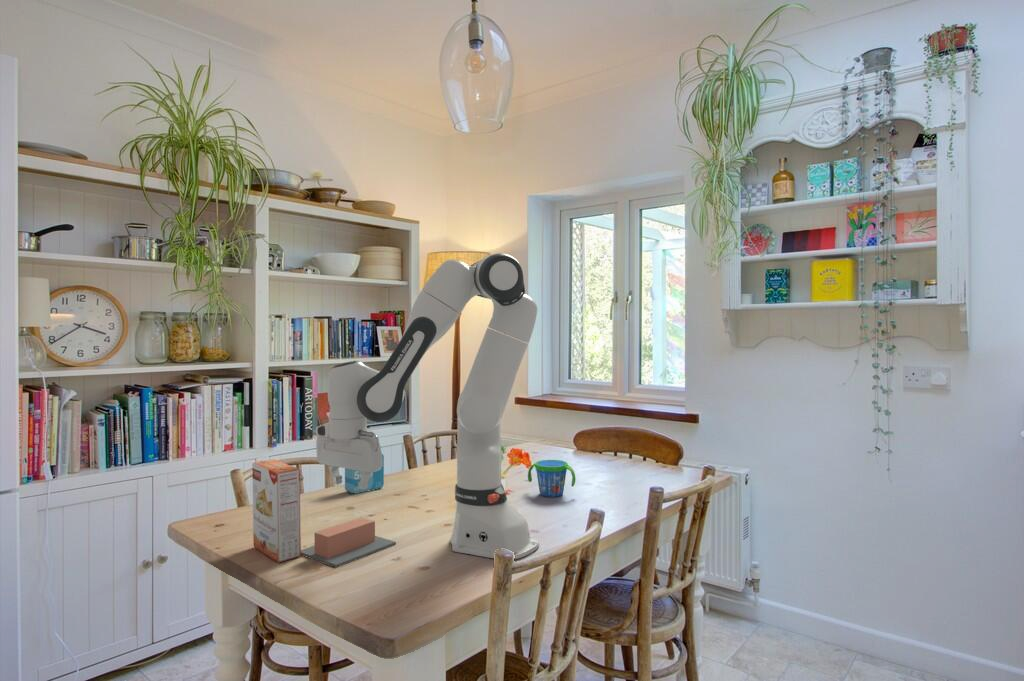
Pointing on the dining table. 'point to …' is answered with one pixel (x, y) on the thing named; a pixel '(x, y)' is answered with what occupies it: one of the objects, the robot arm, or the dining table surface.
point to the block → (344, 537)
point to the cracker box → (276, 509)
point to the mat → (350, 552)
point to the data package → (354, 477)
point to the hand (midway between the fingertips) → (350, 486)
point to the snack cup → (551, 476)
